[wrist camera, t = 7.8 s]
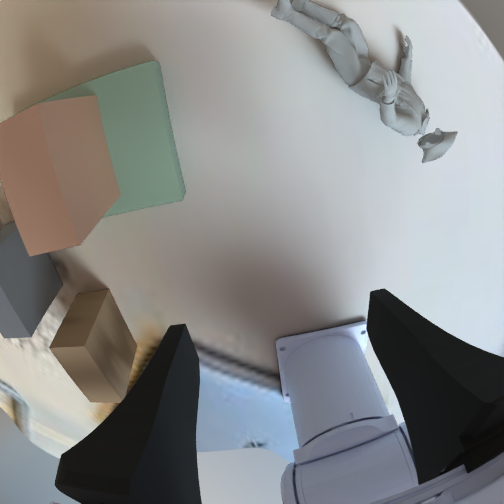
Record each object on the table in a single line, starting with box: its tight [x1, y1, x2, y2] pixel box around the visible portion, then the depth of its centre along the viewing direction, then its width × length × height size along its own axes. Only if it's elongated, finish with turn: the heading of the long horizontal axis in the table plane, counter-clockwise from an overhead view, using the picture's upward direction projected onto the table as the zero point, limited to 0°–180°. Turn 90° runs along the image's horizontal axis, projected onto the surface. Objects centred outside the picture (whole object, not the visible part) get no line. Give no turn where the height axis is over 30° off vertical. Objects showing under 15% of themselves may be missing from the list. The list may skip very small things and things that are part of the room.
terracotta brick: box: [0, 95, 121, 256], centre depth 12 cm, size 6×3×6 cm, turn 8°
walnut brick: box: [49, 289, 137, 403], centre depth 20 cm, size 6×3×6 cm, turn 8°
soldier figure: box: [271, 0, 458, 163], centre depth 14 cm, size 8×5×12 cm
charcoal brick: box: [0, 221, 63, 338], centre depth 17 cm, size 6×3×6 cm, turn 8°
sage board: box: [8, 60, 186, 218], centre depth 16 cm, size 8×10×2 cm
